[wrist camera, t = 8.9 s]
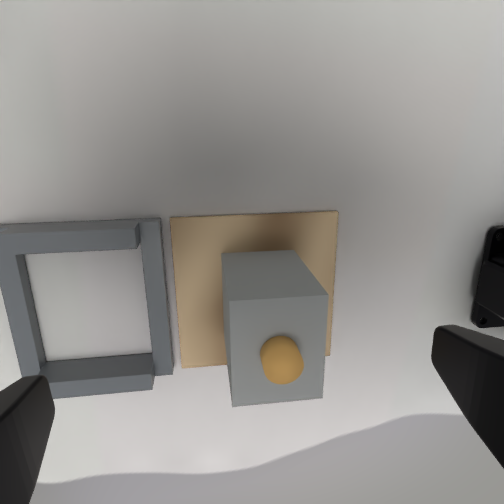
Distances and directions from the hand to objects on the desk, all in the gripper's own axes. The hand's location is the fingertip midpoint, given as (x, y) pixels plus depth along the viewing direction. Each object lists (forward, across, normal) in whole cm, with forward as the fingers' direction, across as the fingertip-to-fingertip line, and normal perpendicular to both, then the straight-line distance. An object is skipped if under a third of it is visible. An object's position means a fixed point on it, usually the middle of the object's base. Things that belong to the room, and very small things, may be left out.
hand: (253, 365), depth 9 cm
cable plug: (+12, -2, +4) cm, 13 cm away
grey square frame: (+12, +7, +3) cm, 15 cm away
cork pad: (+12, -2, +4) cm, 13 cm away
